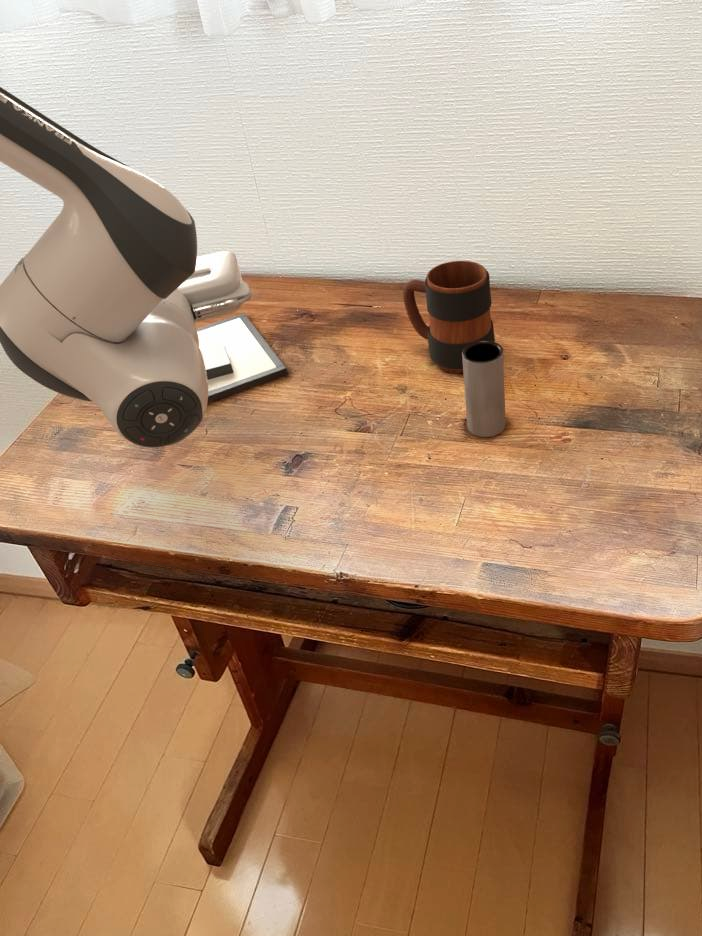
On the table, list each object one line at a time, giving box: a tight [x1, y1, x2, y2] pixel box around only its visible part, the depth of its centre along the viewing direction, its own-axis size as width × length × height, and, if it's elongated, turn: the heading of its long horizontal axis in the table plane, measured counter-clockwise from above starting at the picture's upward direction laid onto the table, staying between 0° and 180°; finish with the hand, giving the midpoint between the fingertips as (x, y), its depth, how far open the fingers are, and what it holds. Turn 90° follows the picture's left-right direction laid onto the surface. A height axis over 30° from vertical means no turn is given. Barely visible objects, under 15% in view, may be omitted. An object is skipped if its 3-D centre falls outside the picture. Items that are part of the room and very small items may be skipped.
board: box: [196, 312, 289, 404], centre depth 115 cm, size 20×18×1 cm
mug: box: [402, 260, 496, 374], centre depth 106 cm, size 9×12×12 cm
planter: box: [462, 340, 506, 438], centre depth 95 cm, size 4×4×10 cm
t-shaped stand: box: [201, 346, 233, 380], centre depth 109 cm, size 12×5×10 cm, turn 108°
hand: (139, 266), depth 89 cm, fingers open, 8 cm apart
